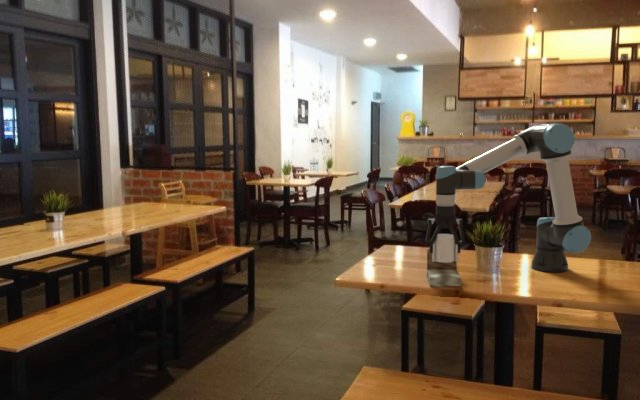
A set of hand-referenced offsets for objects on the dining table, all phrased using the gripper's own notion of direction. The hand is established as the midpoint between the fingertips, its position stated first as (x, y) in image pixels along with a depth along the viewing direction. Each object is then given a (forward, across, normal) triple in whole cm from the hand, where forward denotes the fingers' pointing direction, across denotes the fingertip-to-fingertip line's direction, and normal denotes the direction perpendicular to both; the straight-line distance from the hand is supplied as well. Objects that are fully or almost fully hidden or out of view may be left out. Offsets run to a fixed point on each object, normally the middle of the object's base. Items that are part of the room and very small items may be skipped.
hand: (444, 260), depth 228 cm
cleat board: (+9, 0, -3) cm, 9 cm away
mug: (0, +1, 0) cm, 1 cm away
